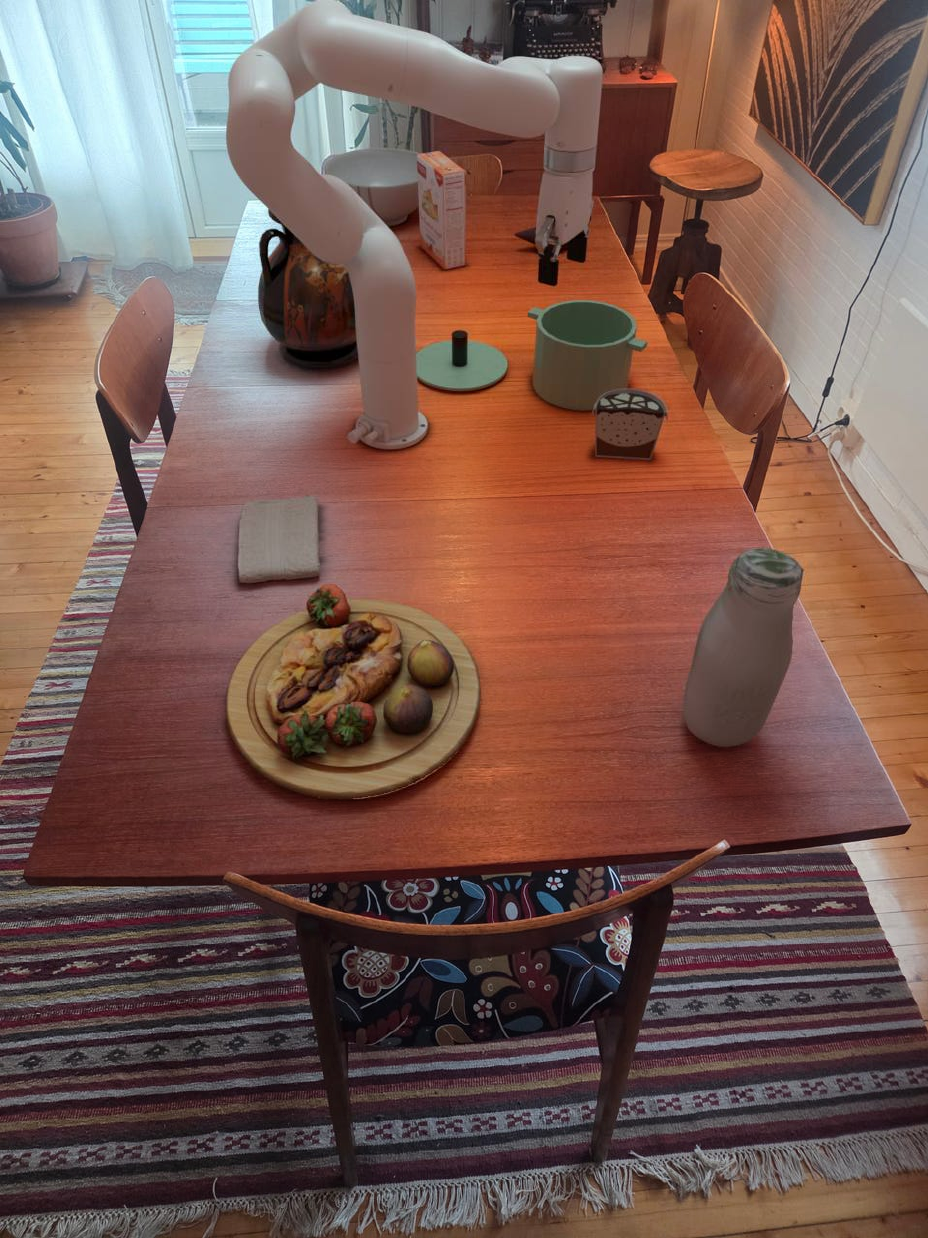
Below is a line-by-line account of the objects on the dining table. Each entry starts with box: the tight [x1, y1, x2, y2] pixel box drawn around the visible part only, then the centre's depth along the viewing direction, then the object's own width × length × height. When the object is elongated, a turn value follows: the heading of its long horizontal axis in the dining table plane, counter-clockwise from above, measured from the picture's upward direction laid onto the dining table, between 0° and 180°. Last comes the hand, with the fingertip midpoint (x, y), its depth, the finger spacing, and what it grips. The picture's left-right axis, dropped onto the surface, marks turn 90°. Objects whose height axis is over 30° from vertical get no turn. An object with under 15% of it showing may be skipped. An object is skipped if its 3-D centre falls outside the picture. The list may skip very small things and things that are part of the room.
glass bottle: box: [682, 547, 805, 748], centre depth 99 cm, size 10×10×28 cm
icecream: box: [514, 226, 568, 251], centre depth 206 cm, size 7×7×15 cm
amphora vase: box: [257, 208, 358, 371], centre depth 164 cm, size 22×22×28 cm
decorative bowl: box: [323, 147, 421, 227], centre depth 217 cm, size 27×27×12 cm
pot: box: [527, 299, 648, 411], centre depth 161 cm, size 18×23×12 cm
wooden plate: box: [225, 583, 482, 801], centre depth 109 cm, size 32×32×8 cm
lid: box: [416, 329, 509, 392], centre depth 167 cm, size 18×18×7 cm
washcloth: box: [237, 495, 322, 584], centre depth 132 cm, size 12×18×3 cm, turn 9°
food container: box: [591, 388, 669, 461], centre depth 147 cm, size 12×6×10 cm, turn 84°
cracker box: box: [417, 150, 467, 271], centre depth 198 cm, size 14×6×21 cm, turn 25°
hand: (562, 271), depth 141 cm, fingers open, 9 cm apart
